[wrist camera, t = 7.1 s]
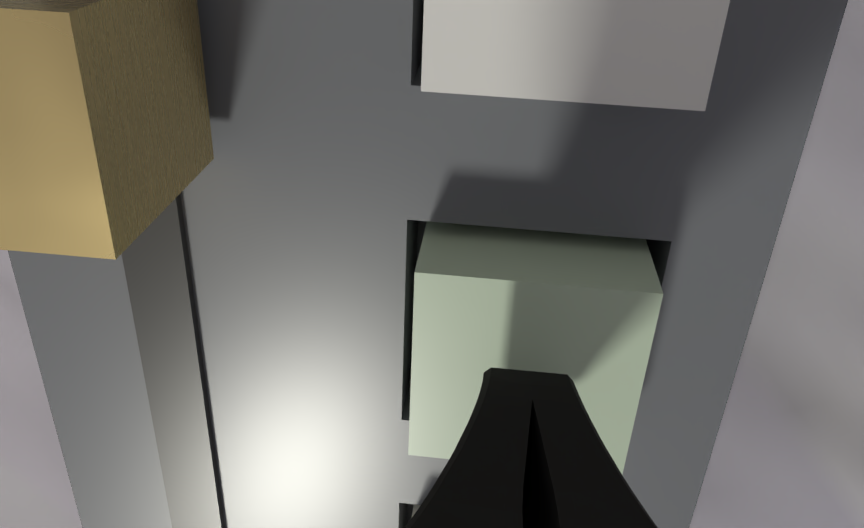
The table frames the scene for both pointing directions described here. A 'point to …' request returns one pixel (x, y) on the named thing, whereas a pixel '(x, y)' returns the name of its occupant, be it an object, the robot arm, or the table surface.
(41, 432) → the table surface
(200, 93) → the brass slider
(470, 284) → the sage button
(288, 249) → the control panel
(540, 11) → the grey button
